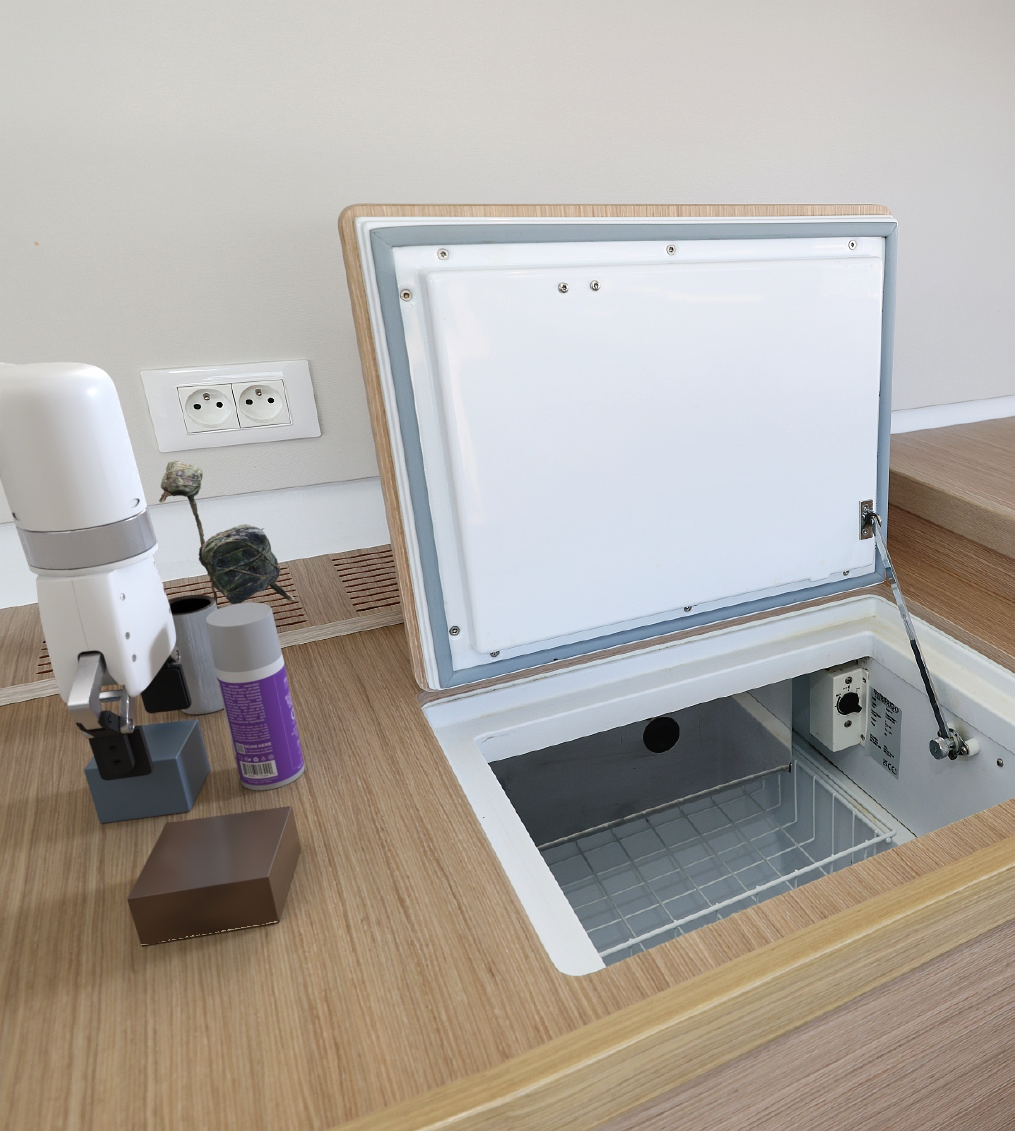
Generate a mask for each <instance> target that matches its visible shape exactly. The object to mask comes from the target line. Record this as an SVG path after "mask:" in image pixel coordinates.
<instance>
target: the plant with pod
mask: <svg viewBox="0 0 1015 1131" xmlns="http://www.w3.org/2000/svg"><path fill="white" fill-rule="evenodd" d="M203 474H204V473H203V470H202V469H201V468H200V467H199V466H195V465H192V464H187V463H184V462H181V461H179V460H174V461H173V460H172V461H170V462H168V463H167V465H166V468H165V473H164V475H163V476H162V479H161V482H160V488H161V490H163V492H162V493H161V495H160V496H161V497H160V498H159V499H158V500H159V503H164V502H165V501H166V500H167V498H168V497H184V498H185V497H186V498H187V499H188V502H189V505H190V508H191V512H192V514H193V516H194V520H195V523H196V527H197V531H198V535H199V541H200V542H199V543H200V547H199V548H198V556H199V557H198V561H199V563H200V565H201V566H203V567H204V568H205V571H206V573H207V576H208V577H209V582H210V583H211V584H210V586H211V590H212V593H213V598H214V599H215V601H216V605H217V609H220V608H222V607H226V606H227V605H218V594H217V591H218V592H219V593H221V594H222V595H223V596H224V598H225V599H226V600H227V601H228V602H229V604H230V605H234V604H239V603H244V602H245V601H247V600H249V599H250V598H251V597H253V596H254V595H255V594H257V593H261V592H264V591H265V590H267V589H268V588H269V587H270V589H271V590H273V591H274V592H276V593H277V594H278V595H280V596H281V597H283V598H284V599H286V600H287V601H289V602H292V603H294V602H295V598H294V597H293V595H291V594H289V593H287V591H286V590H285V589H284V588H282V587H281V586H280V585H278V584H277V581H278V579H279V578H280V576H281V571H282V570H281V566H279V563H278V562H279V561H278V559H277V557H276V554H274V552H273V551H272V544H271V543H270V540H269V538H268V536H267V534H266V533H265V532H264V531H263V530H264V529H265V527H263V528H260V527H257V526H254V525H251V524H248V523H247V524H246V523H244V524H243V523H242V524H239V525H237V526H234V527H231V528H229V529H226V530H224V531H219V532H217V533H215V534H214V535H212V536H210V537H209V538H208V539H207V540H205V538H204V537H205V533H204V529H203V525H202V521H201V519H200V515H199V513H198V504H197V502H196V500H195V496H197V495H199V492H200V490H201V489H202V487H201V486H202V481H203Z"/></svg>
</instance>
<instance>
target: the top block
mask: <svg viewBox="0 0 1015 1131" xmlns="http://www.w3.org/2000/svg"><path fill="white" fill-rule="evenodd" d="M141 725H142V728H143V732H144V735H145V738H146V742H147V745H148V748H149V752H150V755H151V758H152V762H153V765H154V769H153V770H152V772H151V773H150V774H149V775H145V776H138V777H130V778H123V779H116V780H109V781H106V780H103V779H102V778H101V777H100V773H99V770H98V767H97V764H96V761H95V758H94V755H92V757H91V758H90V760H89V761H88V763H87V764H86V766H85V767H84V768H83V772H84V776H85V779H86V782H87V785H88V789H89V792H90V795H91V799H92V801H93V802H92V803H93V805H94V809H95V812H96V815H97V818H98V822H99V824H109V823H115V822H122V821H130V820H138V819H146V818H152V817H160V816H169V815H175V814H182V813H183V814H184V813H189V812H191V810H192V809H193V805H194V804H195V802H196V800H197V797H198V795H199V794H200V791H201V789H202V788H203V785H204V783H205V781H206V780H207V777H208V775H209V773H210V771H211V766H210V763H209V758H208V754H207V750H206V746H205V742H204V738H203V733H202V730H201V725H200V721H199V719H198V718H197V719H196V718H195V719H186V720H178V721H177V720H176V721H168V722H158V723H149V724H141Z"/></svg>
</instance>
